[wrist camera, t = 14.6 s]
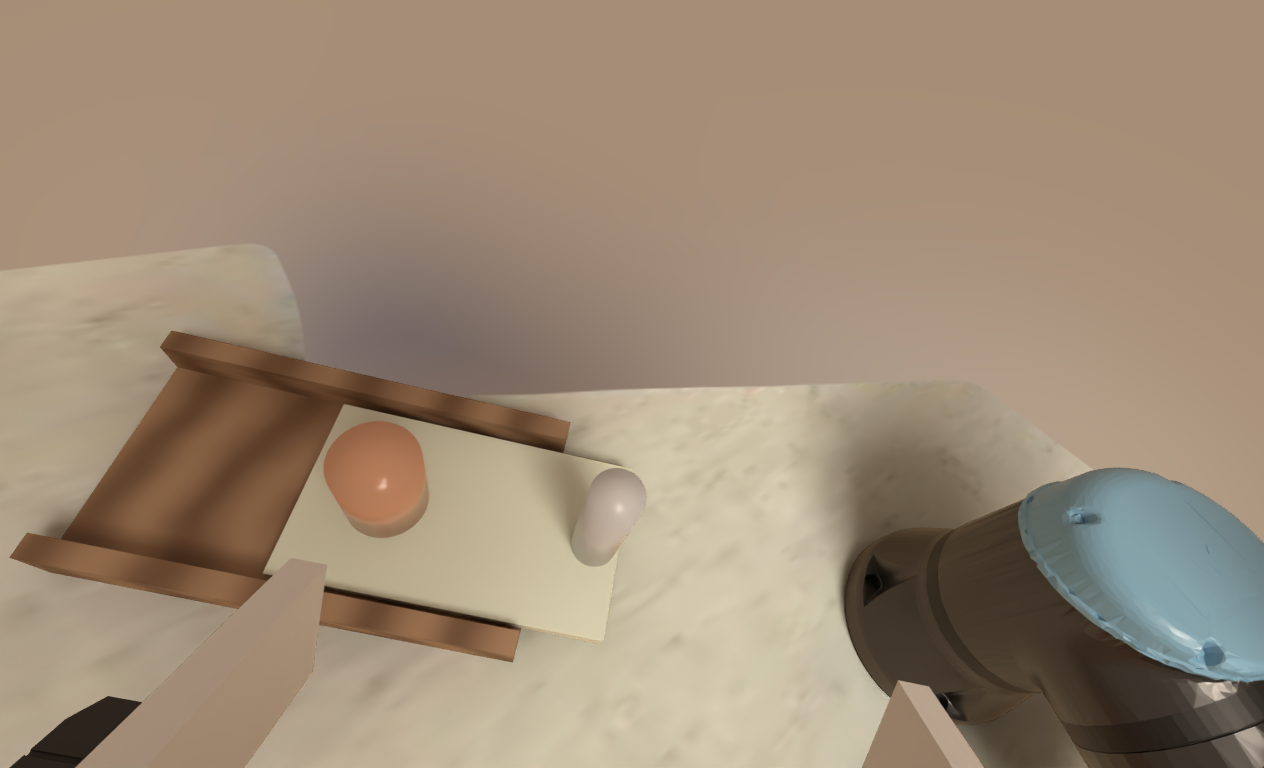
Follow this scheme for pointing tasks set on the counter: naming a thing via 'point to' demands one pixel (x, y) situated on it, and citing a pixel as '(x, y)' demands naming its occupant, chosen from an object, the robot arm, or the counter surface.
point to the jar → (378, 478)
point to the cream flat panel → (480, 533)
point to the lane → (255, 486)
